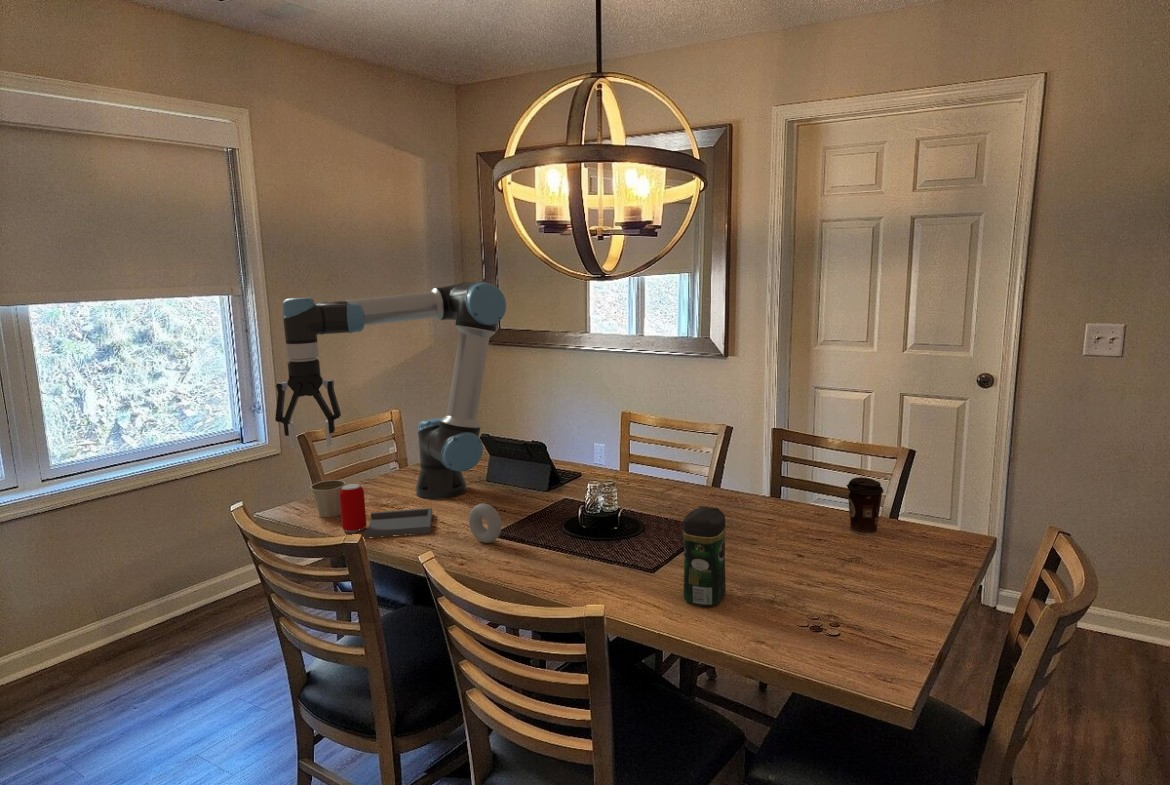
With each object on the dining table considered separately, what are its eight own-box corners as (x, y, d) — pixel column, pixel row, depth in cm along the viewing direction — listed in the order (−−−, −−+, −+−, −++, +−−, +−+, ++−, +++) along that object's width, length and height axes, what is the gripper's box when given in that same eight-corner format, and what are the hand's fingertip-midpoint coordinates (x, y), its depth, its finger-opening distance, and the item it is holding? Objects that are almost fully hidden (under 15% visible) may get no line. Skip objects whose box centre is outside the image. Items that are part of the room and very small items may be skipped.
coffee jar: (692, 584, 154) (692, 501, 151) (729, 591, 151) (730, 505, 148) (678, 604, 146) (678, 516, 142) (716, 611, 142) (717, 521, 139)
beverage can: (337, 533, 190) (334, 489, 188) (350, 524, 196) (347, 482, 194) (358, 534, 189) (355, 490, 187) (371, 526, 195) (367, 483, 192)
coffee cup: (842, 533, 181) (844, 483, 179) (847, 522, 188) (849, 474, 186) (879, 538, 177) (882, 487, 175) (883, 527, 184) (885, 478, 182)
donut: (505, 544, 180) (503, 505, 178) (495, 548, 177) (493, 509, 175) (476, 536, 186) (474, 498, 184) (466, 540, 183) (464, 502, 181)
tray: (432, 514, 203) (432, 507, 202) (430, 533, 188) (429, 526, 188) (371, 519, 200) (371, 512, 200) (364, 538, 186) (364, 531, 185)
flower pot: (341, 519, 200) (338, 489, 199) (307, 520, 201) (304, 490, 199) (352, 508, 210) (350, 479, 208) (320, 509, 210) (318, 480, 208)
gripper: (348, 355, 188) (355, 440, 192) (263, 359, 185) (271, 445, 189) (344, 359, 181) (351, 447, 185) (254, 363, 178) (264, 452, 182)
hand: (311, 446), depth 187 cm, fingers open, 8 cm apart
